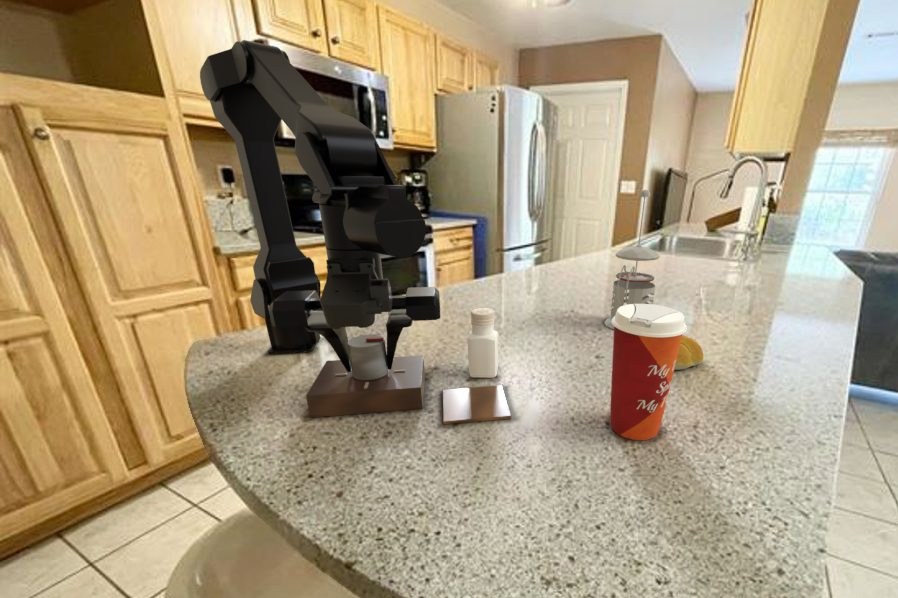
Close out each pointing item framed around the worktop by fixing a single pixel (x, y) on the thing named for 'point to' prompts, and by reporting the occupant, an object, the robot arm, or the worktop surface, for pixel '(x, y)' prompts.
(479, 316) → the pepper shaker
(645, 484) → the worktop surface
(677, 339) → the paper cup
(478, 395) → the coaster
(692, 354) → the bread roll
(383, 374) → the knob
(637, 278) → the french press
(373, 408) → the panel
